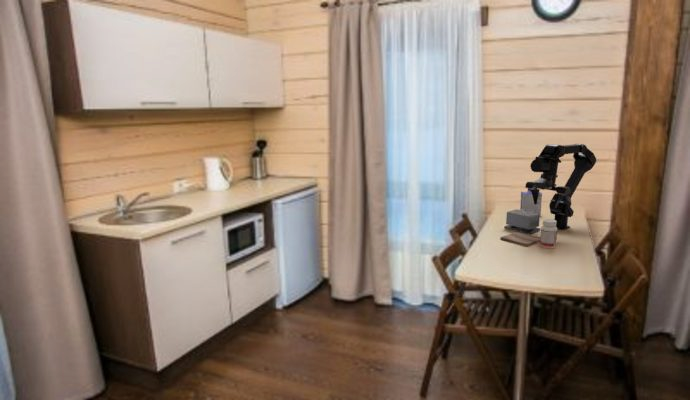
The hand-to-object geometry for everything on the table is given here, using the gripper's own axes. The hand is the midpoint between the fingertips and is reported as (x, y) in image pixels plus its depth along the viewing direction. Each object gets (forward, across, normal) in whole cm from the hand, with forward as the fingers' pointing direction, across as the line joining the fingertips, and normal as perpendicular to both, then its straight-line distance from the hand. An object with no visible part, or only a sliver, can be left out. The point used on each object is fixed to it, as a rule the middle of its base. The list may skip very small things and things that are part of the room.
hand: (544, 206), depth 210 cm
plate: (+14, 0, -16) cm, 21 cm away
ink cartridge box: (+10, -19, +24) cm, 33 cm away
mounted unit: (+12, -8, -2) cm, 15 cm away
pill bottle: (+14, +12, -17) cm, 25 cm away
